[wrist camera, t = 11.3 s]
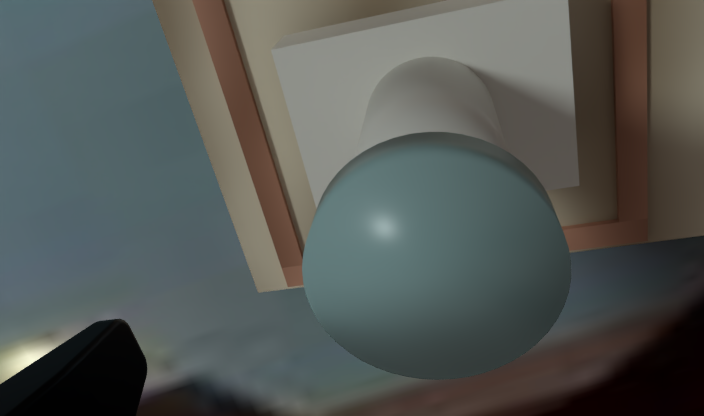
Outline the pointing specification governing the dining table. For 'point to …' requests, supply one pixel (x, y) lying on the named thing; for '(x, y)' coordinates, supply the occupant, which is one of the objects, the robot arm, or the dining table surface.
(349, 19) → the stamping board
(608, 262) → the dining table surface
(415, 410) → the dining table surface
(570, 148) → the hand stamp
